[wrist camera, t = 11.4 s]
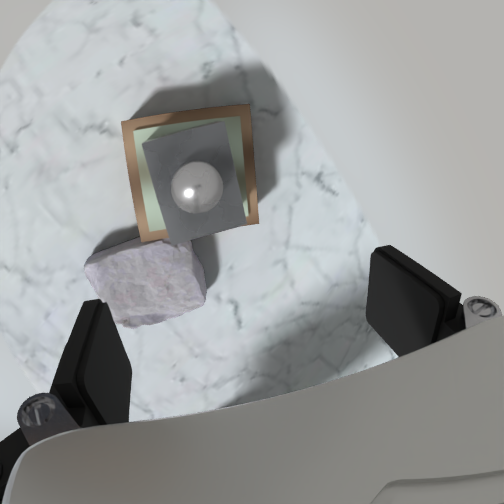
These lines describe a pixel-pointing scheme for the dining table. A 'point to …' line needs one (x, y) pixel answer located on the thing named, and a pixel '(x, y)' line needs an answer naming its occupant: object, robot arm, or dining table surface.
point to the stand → (167, 123)
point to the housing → (195, 181)
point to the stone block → (147, 280)
